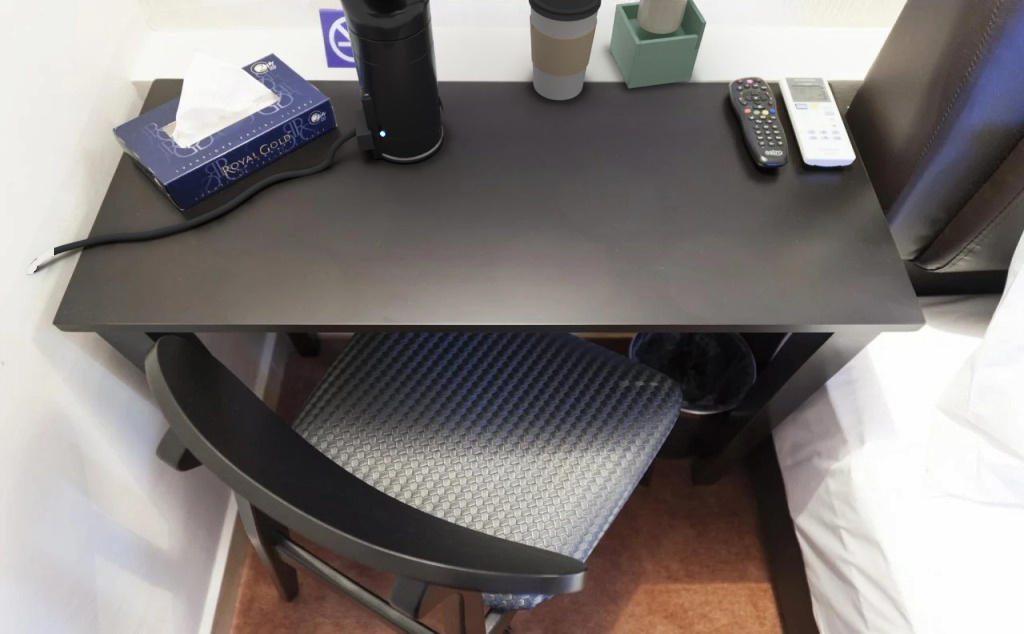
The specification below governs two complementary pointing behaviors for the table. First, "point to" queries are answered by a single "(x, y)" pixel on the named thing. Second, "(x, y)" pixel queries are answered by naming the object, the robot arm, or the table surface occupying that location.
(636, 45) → the mint green open box
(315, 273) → the table surface
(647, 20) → the cup
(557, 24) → the coffee cup
